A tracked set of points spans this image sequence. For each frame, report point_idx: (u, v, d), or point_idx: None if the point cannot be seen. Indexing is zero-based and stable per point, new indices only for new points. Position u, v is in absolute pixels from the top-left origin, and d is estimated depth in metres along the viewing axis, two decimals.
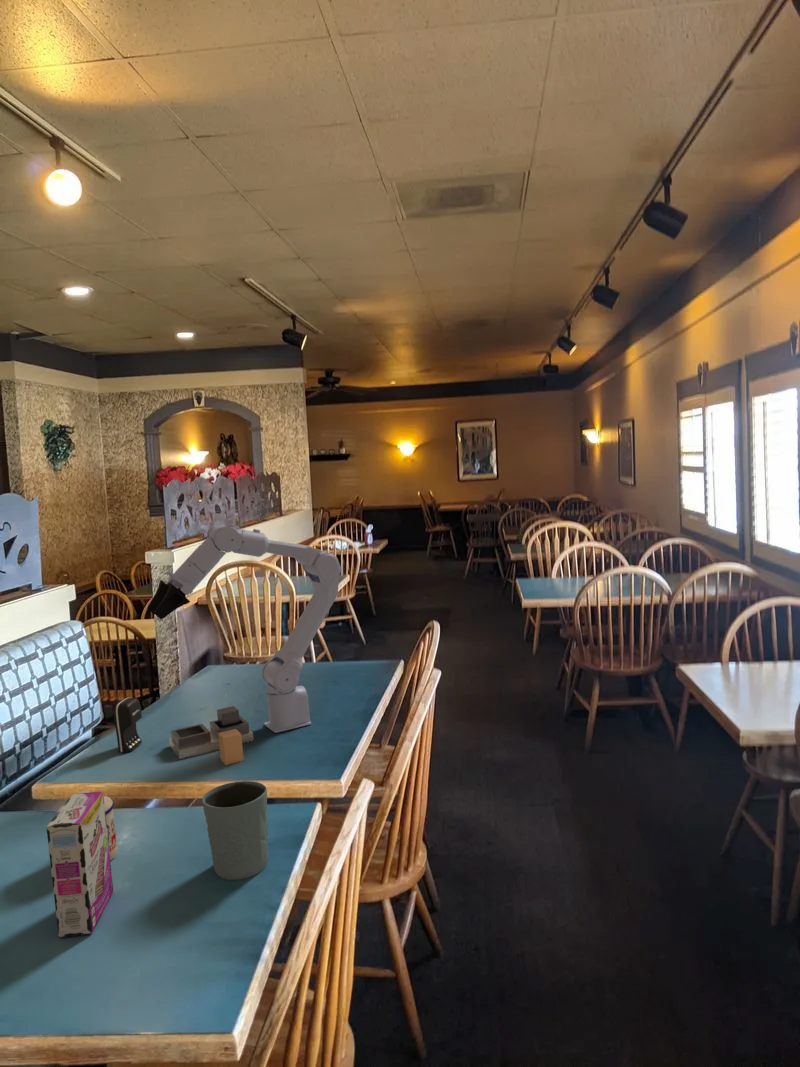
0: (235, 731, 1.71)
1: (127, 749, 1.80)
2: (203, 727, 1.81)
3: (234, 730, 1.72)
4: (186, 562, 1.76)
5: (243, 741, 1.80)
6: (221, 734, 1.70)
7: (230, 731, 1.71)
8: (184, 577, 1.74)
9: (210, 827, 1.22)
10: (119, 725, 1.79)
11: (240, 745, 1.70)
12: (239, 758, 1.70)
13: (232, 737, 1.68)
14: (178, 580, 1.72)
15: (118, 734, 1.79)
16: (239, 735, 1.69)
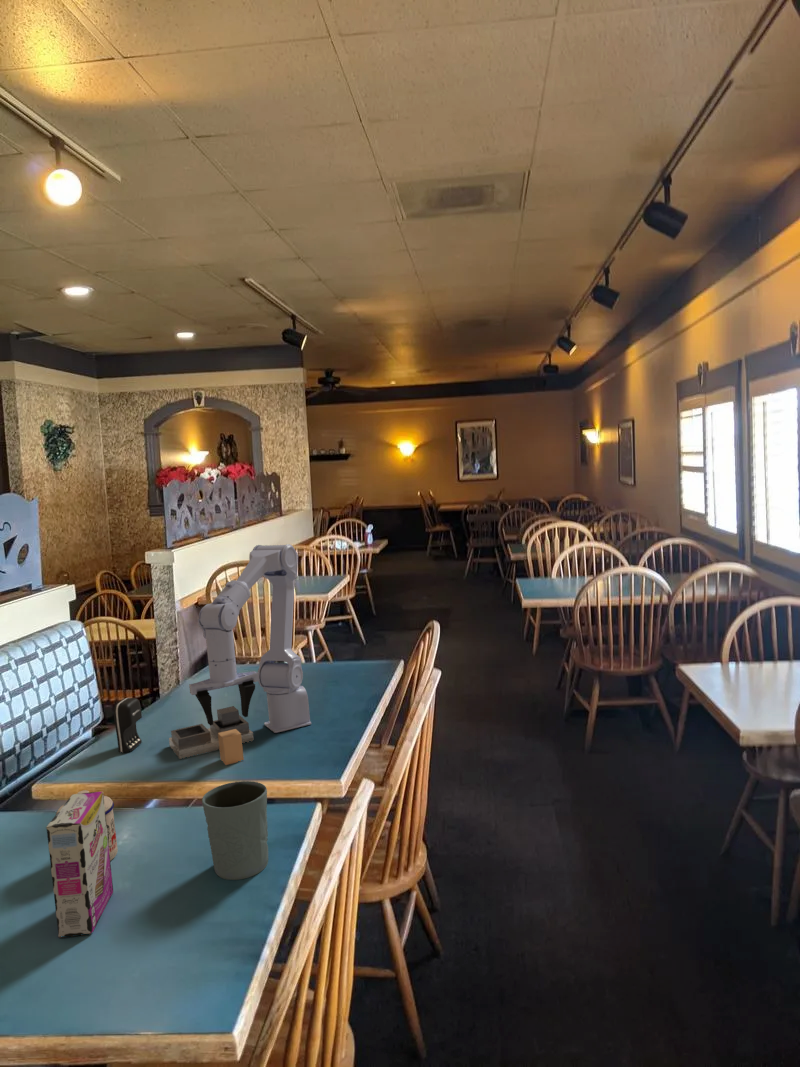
0: (235, 731, 1.71)
1: (127, 749, 1.80)
2: (203, 727, 1.81)
3: (234, 730, 1.72)
4: (229, 662, 1.67)
5: (243, 741, 1.80)
6: (221, 734, 1.70)
7: (230, 731, 1.71)
8: (236, 672, 1.69)
9: (210, 827, 1.22)
10: (119, 725, 1.79)
11: (240, 745, 1.70)
12: (239, 758, 1.70)
13: (232, 737, 1.68)
14: (242, 679, 1.69)
15: (118, 734, 1.79)
16: (239, 735, 1.69)
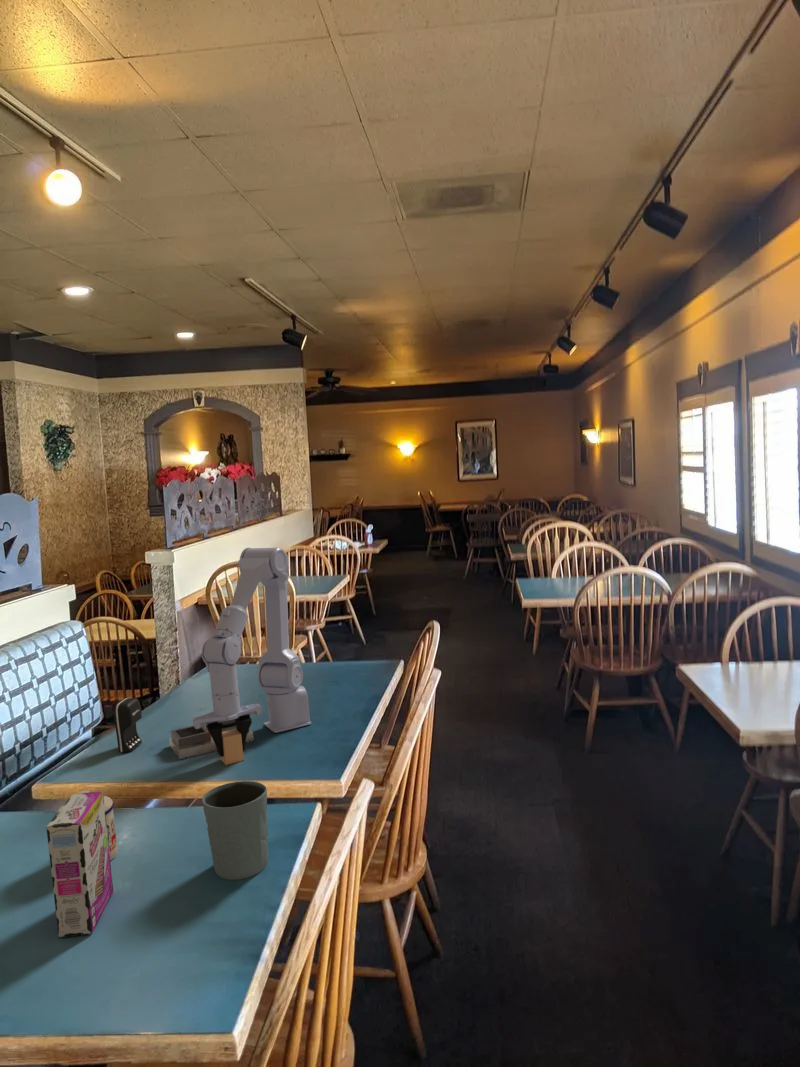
0: (235, 731, 1.71)
1: (127, 749, 1.80)
2: (203, 727, 1.81)
3: (234, 730, 1.72)
4: (233, 696, 1.67)
5: None
6: None
7: (230, 731, 1.71)
8: None
9: (210, 827, 1.22)
10: (119, 725, 1.79)
11: (240, 745, 1.69)
12: (239, 758, 1.70)
13: (232, 737, 1.68)
14: (246, 712, 1.70)
15: (118, 734, 1.79)
16: (239, 735, 1.69)
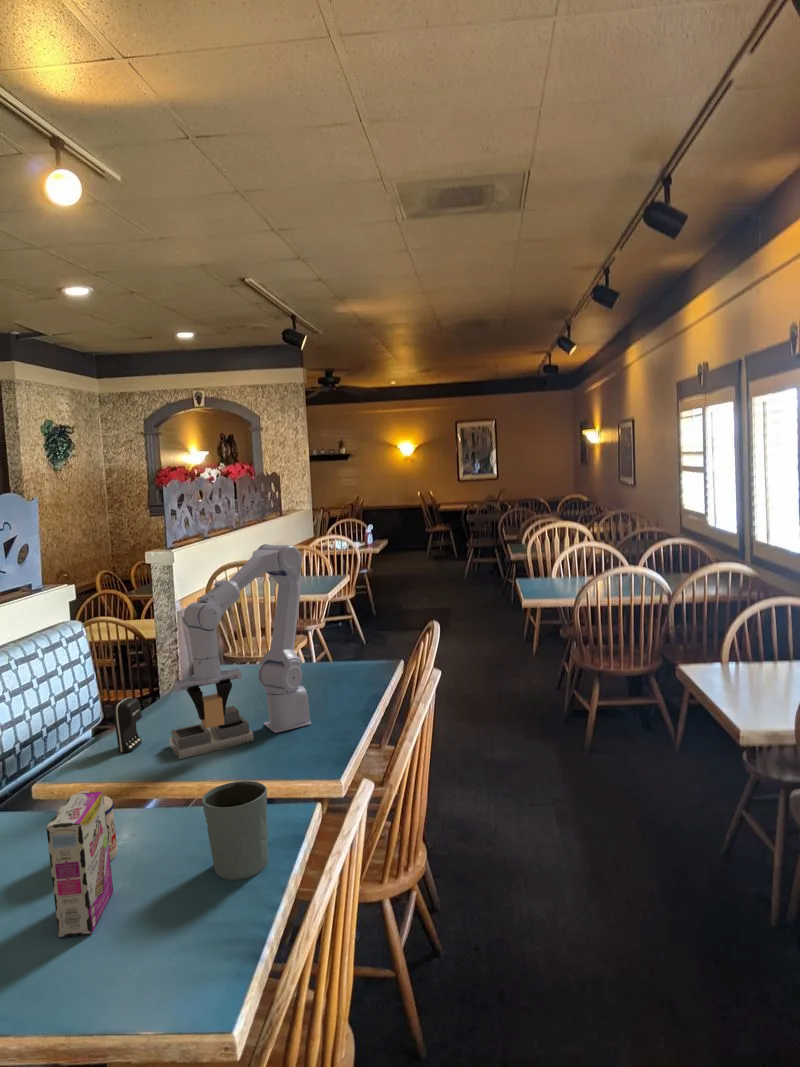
0: (216, 695, 1.74)
1: (127, 749, 1.80)
2: (203, 727, 1.81)
3: (215, 695, 1.74)
4: (213, 660, 1.70)
5: (243, 741, 1.80)
6: None
7: (211, 696, 1.74)
8: (220, 670, 1.72)
9: (210, 827, 1.22)
10: (119, 725, 1.79)
11: (221, 709, 1.72)
12: (220, 722, 1.72)
13: (212, 701, 1.71)
14: (226, 676, 1.73)
15: (118, 734, 1.79)
16: (220, 699, 1.72)
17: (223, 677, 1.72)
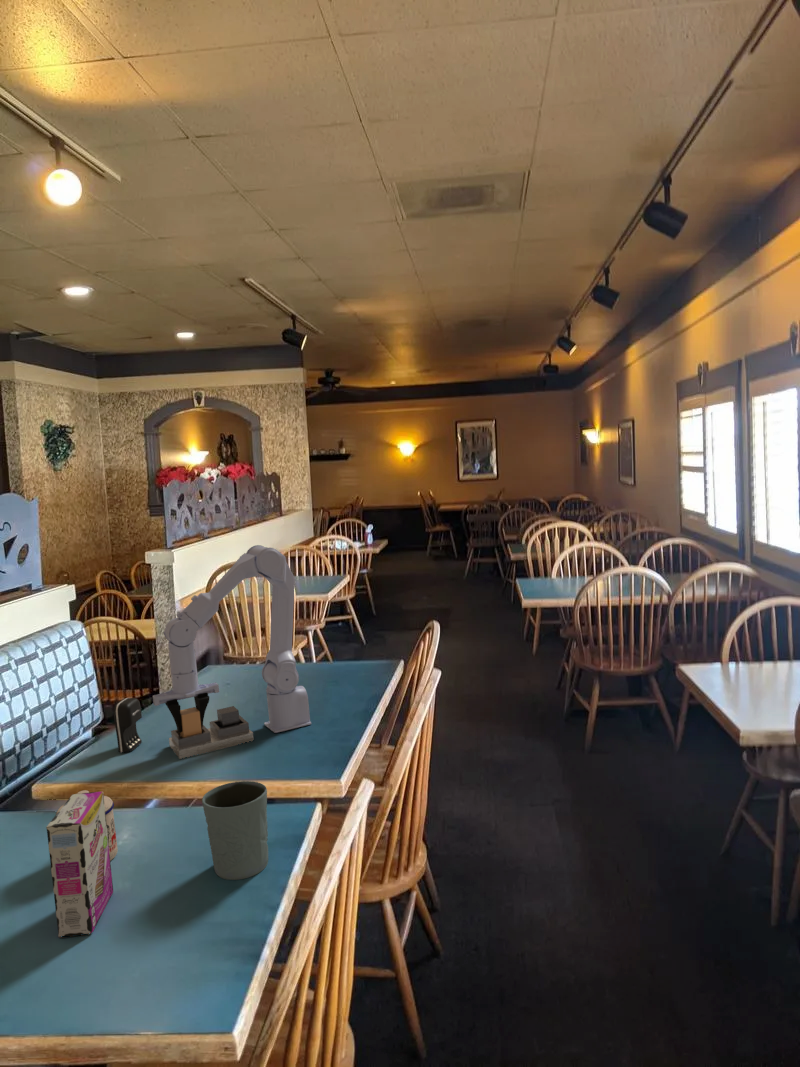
0: (194, 709, 1.79)
1: (127, 749, 1.80)
2: (203, 727, 1.81)
3: (193, 708, 1.80)
4: (190, 675, 1.76)
5: (243, 741, 1.80)
6: (180, 712, 1.78)
7: (189, 709, 1.80)
8: None
9: (210, 827, 1.22)
10: (119, 725, 1.79)
11: (198, 722, 1.78)
12: None
13: (190, 714, 1.77)
14: (204, 690, 1.78)
15: (118, 734, 1.79)
16: (197, 712, 1.78)
17: (200, 691, 1.78)
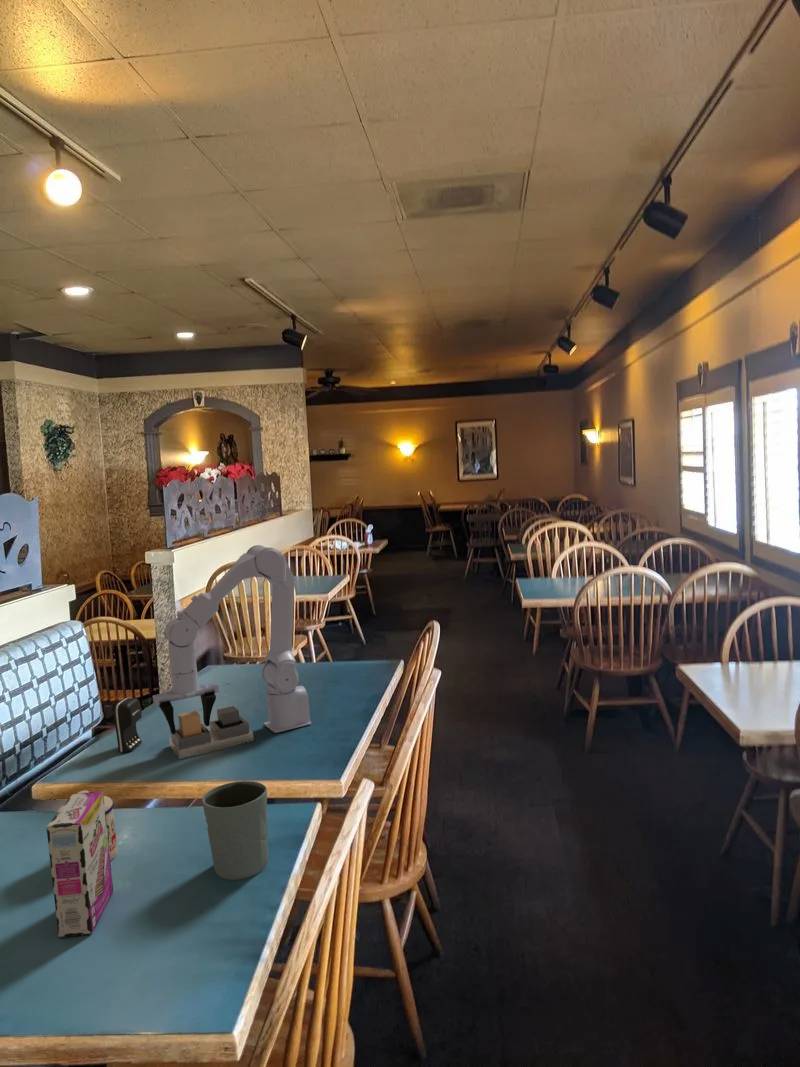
0: (194, 713, 1.80)
1: (127, 749, 1.80)
2: (203, 727, 1.81)
3: (193, 712, 1.80)
4: (190, 675, 1.76)
5: (243, 741, 1.80)
6: (181, 715, 1.78)
7: (190, 713, 1.80)
8: None
9: (210, 827, 1.22)
10: (119, 725, 1.79)
11: (199, 726, 1.78)
12: None
13: (190, 718, 1.77)
14: (204, 690, 1.78)
15: (118, 734, 1.79)
16: (198, 716, 1.78)
17: (200, 691, 1.78)
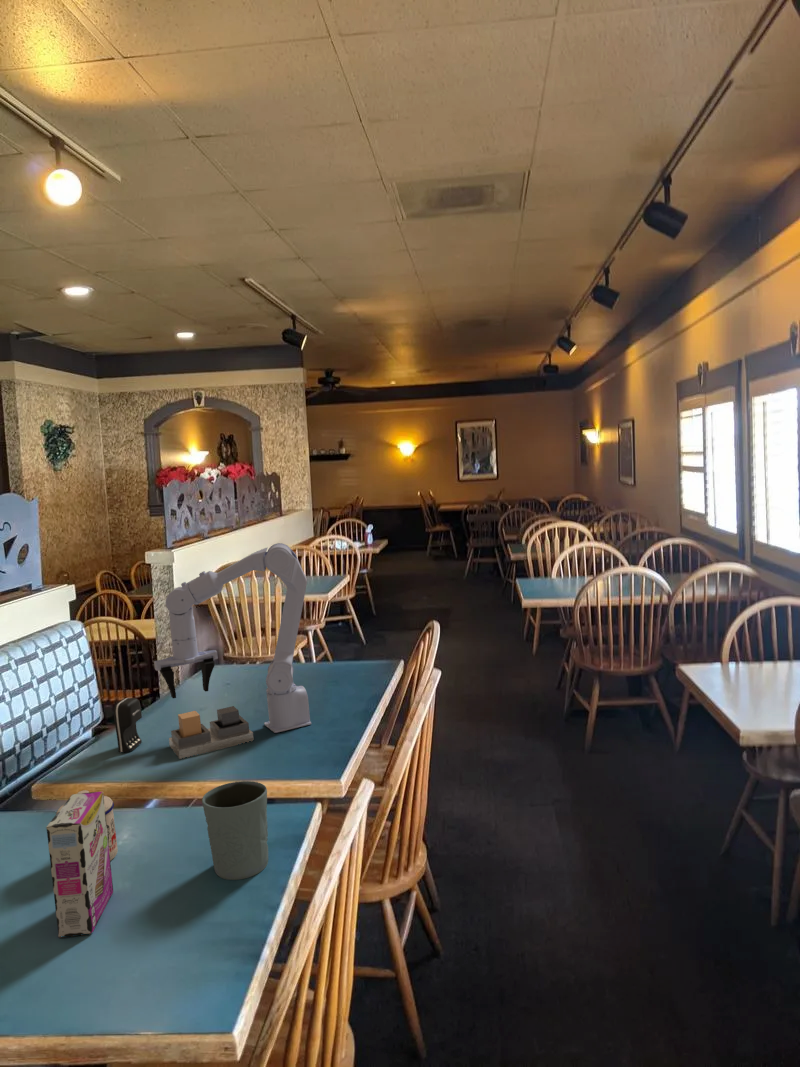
0: (194, 713, 1.80)
1: (127, 749, 1.80)
2: (203, 727, 1.81)
3: (193, 712, 1.80)
4: (190, 641, 1.83)
5: (243, 741, 1.80)
6: (181, 715, 1.78)
7: (190, 713, 1.80)
8: (197, 650, 1.86)
9: (210, 827, 1.22)
10: (119, 725, 1.79)
11: (199, 726, 1.78)
12: None
13: (190, 718, 1.77)
14: (203, 656, 1.86)
15: (118, 734, 1.79)
16: (198, 716, 1.78)
17: (200, 657, 1.85)
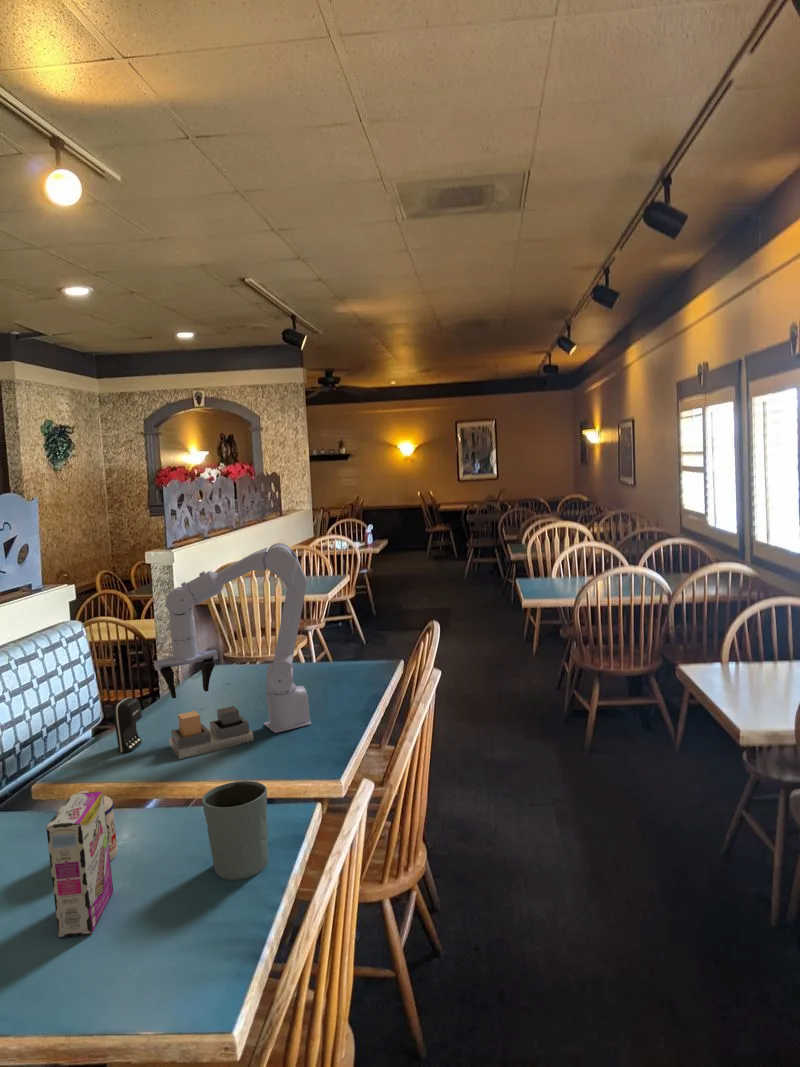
0: (194, 713, 1.80)
1: (127, 749, 1.80)
2: (203, 727, 1.81)
3: (193, 712, 1.80)
4: (190, 641, 1.83)
5: (243, 741, 1.80)
6: (181, 715, 1.78)
7: (190, 713, 1.80)
8: (197, 650, 1.86)
9: (210, 827, 1.22)
10: (119, 725, 1.79)
11: (199, 726, 1.78)
12: None
13: (190, 718, 1.77)
14: (203, 656, 1.86)
15: (118, 734, 1.79)
16: (198, 716, 1.78)
17: (200, 657, 1.85)
